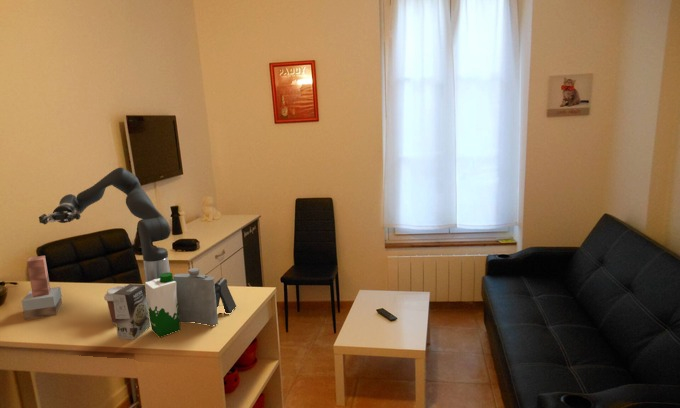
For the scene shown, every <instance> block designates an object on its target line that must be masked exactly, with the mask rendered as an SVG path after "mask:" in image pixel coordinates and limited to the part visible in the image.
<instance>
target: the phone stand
mask: <svg viewBox="0 0 680 408" xmlns="http://www.w3.org/2000/svg"><path fill="white" fill-rule="evenodd" d="M215 294H216V305H217V307H218V306H220V301H221V303H222V306H224V309H225V312H226V313H231V312H232V310H233V309H234V308H235V307H236V308H237V304H236V303H235V300H234V297H233V296H232V294H231V292H230V289H229V287H228V280H227V279H226V278H225V277H220V278H219V279H218V280H217V281H215ZM236 308H235V309H236ZM235 309H234V310H235ZM234 310H233V311H234ZM232 313H233V312H232ZM232 313H231V314H232Z"/></svg>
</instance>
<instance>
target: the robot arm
mask: <svg viewBox="0 0 680 408" xmlns="http://www.w3.org/2000/svg"><path fill="white" fill-rule="evenodd" d="M110 186H112V187H114V188H115V189H117V190H119V191H120V192H122V193H124V194H125V195H126V197H125V204H126V207H127V209H128V210H129V212H130V213H131V215H133V216H134V217H136V218H138V219H141V220H140V221H139V222H138V225H137V228H138V229H137V230H138V231H137V232H138V234H139V235H138V236H139V240H140V248H141V254H142V261H143V269H144V276H145V282H149V281H152V280H154V279H159V278H160V275H161V274H163V273H171V270H170V269H171V268H170V262H169V252H168V250H167V249H166V248H164V247H159V246H155V245H154V246H153V245H152V243H155V242H160V241H164V240H167V239H168V238H169V237H170V236H171V227H170V225H169V222H168V221H167V218H165V217H164V215H162V213H161V212H160V211H159V210H158V209H157V208H156V207H155V205H154V203H153V202H152V200H151V198H150V197H149V195H148V194H147V193H146V191H144V188H143V187H142V185H141V183H140V180H139V178H138V177H137V175H135V174H133V173H132V172H131V171H129V170H127V168H124V167H117V168H114V170H112V171H111V172H109V173H108V174H107V175H105V176H104V177H102V178H101V179H99V180H98V181H97V182H96V183H95V184H94V185H92V186H90V187H88V188H87V189H85V190H83V191H81V192H78V194H77V195H75V194H71V193H69V194H66V195H64V196H62V198H61V199H60V200H59V205H58V206H57V207H55V208H54V210H53V212H52V213H50V214H49V213H48V215H47V214H46V213H43V214H41V215H40V216H39V217H38V219H39V220H38V221H39V224H43V225H47V224H48V223H54V222H57V223H60V224H66V223H70V222H72V221H75V219H76V220H78V221H79V220H80V219H81V217H82V216H81V214H82V213H83V212H84V211H85V210H86V209H87V208H88V207H90V206H91V205H93V204H94V203H95V204H96V203H97V202H98V201H100V200H101V199H102V198H103V197H104V195H105V192H106V189H107V188H108V187H110Z"/></svg>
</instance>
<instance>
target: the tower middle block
mask: <svg viewBox="0 0 680 408" xmlns="http://www.w3.org/2000/svg"><path fill="white" fill-rule="evenodd" d="M62 295H63V294H62V288H61V286H53V287H50V293H49V295H43V296H37V297H33V295H32V289H30V290H29V292H28V293H27V294H26V295H25V296H24V298H23V299H22V300H21V304H22V305H21V306H22V309H23V312H24V311H26V310H33V309H40V308H47V307H54V306H55V305H56V304H57V302H58V301H59V300H60V298H61V299H62V297H63V296H62Z"/></svg>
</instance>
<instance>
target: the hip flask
mask: <svg viewBox="0 0 680 408" xmlns="http://www.w3.org/2000/svg"><path fill="white" fill-rule="evenodd" d="M172 275H173V279H174V280H175V281H176V293H177V302H178V312H179V322H180V323H181V322H195V323H201V324H200V325H202V324H207V325H210V326H213V325H216V324H218V325H219V319H218V318H219V317H218V314H217V305H216V294H215V283H216V281H215V277H214V276H210V275H205V274H202V273H200V268H198V267H194V268H193V267H191V268H190V269H188V273H176V274H172ZM195 323H194V324H195ZM210 326H209V327H210Z"/></svg>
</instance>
